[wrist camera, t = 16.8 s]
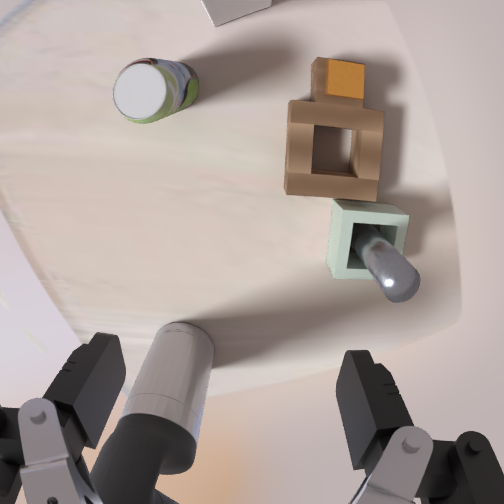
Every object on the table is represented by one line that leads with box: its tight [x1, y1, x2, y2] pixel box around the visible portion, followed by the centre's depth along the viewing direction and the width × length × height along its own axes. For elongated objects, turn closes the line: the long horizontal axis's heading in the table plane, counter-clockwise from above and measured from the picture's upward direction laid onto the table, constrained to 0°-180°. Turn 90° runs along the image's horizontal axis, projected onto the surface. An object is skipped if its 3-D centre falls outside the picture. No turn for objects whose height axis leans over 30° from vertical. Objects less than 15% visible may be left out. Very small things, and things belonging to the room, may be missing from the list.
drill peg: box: [350, 223, 420, 303], centre depth 32 cm, size 4×4×14 cm
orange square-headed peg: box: [325, 59, 365, 100], centre depth 29 cm, size 4×4×6 cm
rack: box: [326, 199, 409, 280], centre depth 36 cm, size 8×8×5 cm
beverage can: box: [112, 58, 199, 124], centre depth 27 cm, size 6×7×12 cm
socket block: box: [284, 57, 384, 201], centre depth 32 cm, size 15×10×4 cm, turn 178°
